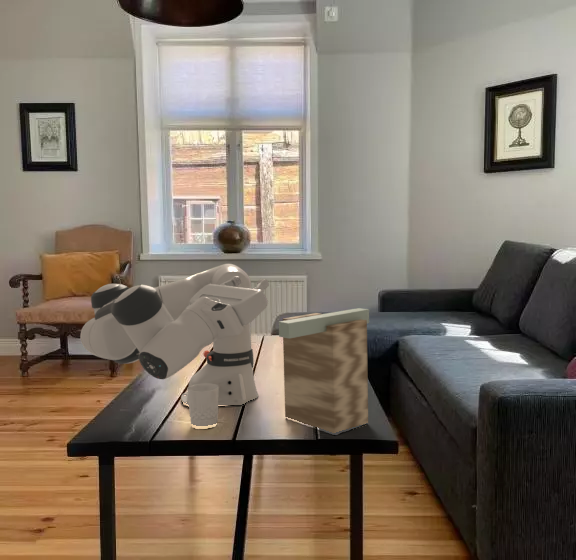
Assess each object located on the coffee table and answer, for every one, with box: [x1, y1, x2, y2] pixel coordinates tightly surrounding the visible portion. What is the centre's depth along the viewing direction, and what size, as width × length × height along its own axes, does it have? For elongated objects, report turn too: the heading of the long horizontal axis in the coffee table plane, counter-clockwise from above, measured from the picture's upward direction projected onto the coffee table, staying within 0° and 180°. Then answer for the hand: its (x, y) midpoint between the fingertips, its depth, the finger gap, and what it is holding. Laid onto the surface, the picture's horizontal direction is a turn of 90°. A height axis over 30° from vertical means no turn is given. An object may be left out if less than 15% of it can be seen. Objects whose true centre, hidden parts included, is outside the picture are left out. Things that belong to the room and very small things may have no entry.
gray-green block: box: [278, 307, 370, 339], centre depth 150 cm, size 27×4×4 cm, turn 131°
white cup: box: [186, 383, 219, 426], centre depth 157 cm, size 8×8×10 cm
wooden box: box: [282, 312, 369, 433], centre depth 157 cm, size 12×18×26 cm, turn 41°
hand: (251, 280), depth 136 cm, fingers open, 8 cm apart
